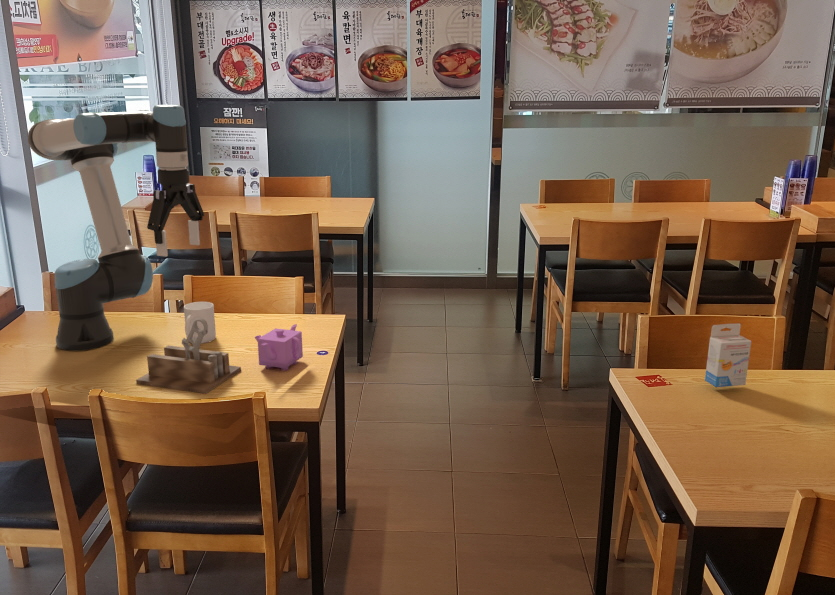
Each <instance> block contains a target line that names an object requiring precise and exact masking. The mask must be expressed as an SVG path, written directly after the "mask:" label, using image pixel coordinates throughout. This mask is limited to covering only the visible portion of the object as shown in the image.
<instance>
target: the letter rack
mask: <svg viewBox="0 0 835 595" xmlns="http://www.w3.org/2000/svg"><path fill="white" fill-rule="evenodd" d="M163 352H164V355H161V354H154V353H151V354H149V355H147V356H146V358H147V359H146V360H147V369H148V372H147V373H146V374H144V375H142V376H140V377H138V378H137V379H136V380H135V381H136V382H135V384H138V385H143V386H144V385H145V386H152V387H156V388H157V387H158V388H165V389H171V390H178V391H185V392H193V393H197V394H198V393H199V394H207V393H209V392H211V391H212V390H214V389H215V388H217V387H218V386H220V385H221V384H223V383H224V382H226V381H227V380H229V379H230V378H232V377H233V376H235V375H237V374H238V373H239V372H241V371H242V368H241V366H238V365H237V366H236V365H230V358H229V352H224V351H223V352H222V351H215V350H208V349H207V350H206V349H202V348H201V349H200V348H199V354H200V360H194V356H193V352H192V351H190V358H191V359H186V353H185V347H184V346H183V347H182V346H175V345H166V346H164V347H163Z"/></svg>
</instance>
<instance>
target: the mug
mask: <svg viewBox="0 0 835 595" xmlns="http://www.w3.org/2000/svg"><path fill="white" fill-rule="evenodd" d="M214 308H215V306H214V303H212V302H209V301H195V302H189V303H186V304H184V305H183V311H184V314H183V315H184V332H185V336H186V337H185V338H187V337H188V335H189V333H190V331H191V328H192V325H193V323H194V321H195V320H197V319H199V318H202V319H204V320H205V321H206V322H207V324H208V332H207V334H206V335H204V337H203V339H202V341H201V343H200V345H201V344H207V343H211V342H213V341H214V340H215V339H216V338H217V336H216V335H217V333H216V332H217V330H216V320H215V309H214ZM197 326H198V328H199V329H201V330H204V326H203V324H202V323H201V322H200V321H198V322H197ZM197 337H198V334H197V333H196V332H194V334H193V338H192V339H194V340H196V338H197ZM189 344H192V343H191V342H189Z"/></svg>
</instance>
